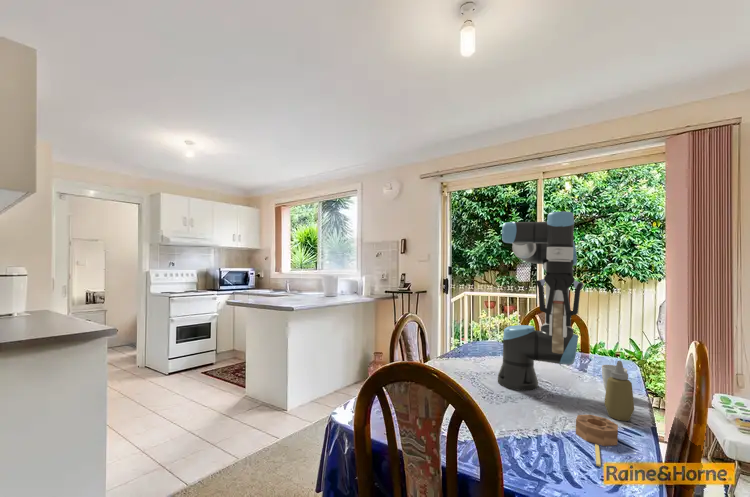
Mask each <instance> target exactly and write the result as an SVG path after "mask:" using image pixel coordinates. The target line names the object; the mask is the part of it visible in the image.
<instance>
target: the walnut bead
mask: <svg viewBox="0 0 750 497" xmlns="http://www.w3.org/2000/svg"><path fill="white" fill-rule="evenodd" d="M618 426H619V425H618V424H617V423H615V422H613V421H611V420H609V419H608V418H606V417H601V416H597V415H593V414H578V415H576V418H575V435H577V436H578V437H580V438H581V439H582V440H584V441H586V442H588V443H591V444H594V445H595V444H597V445H599V446H603V447H608V446H609V447H610V446H618V440H619V434H618V433H619V427H618Z"/></svg>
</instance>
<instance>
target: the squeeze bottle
mask: <svg viewBox="0 0 750 497" xmlns="http://www.w3.org/2000/svg"><path fill="white" fill-rule="evenodd" d="M615 366H616V368H615V371H611V377H609V378H608V379H607V387H606V391H605V396H604V402H603V403H604V407H605V409H606V412H607V415H608V416H609V417H610V418H612V419H614V420H618V421H623V422H624V421H625V422H626V421H631V418H632V415H633V414H634V411H635V400H634V393H633V383H632V382H631V381H630V380H629V374H628V372H627V373H625V372H624V369H623V368H624V365H623V361H621V360H617V362H616V365H615Z"/></svg>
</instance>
